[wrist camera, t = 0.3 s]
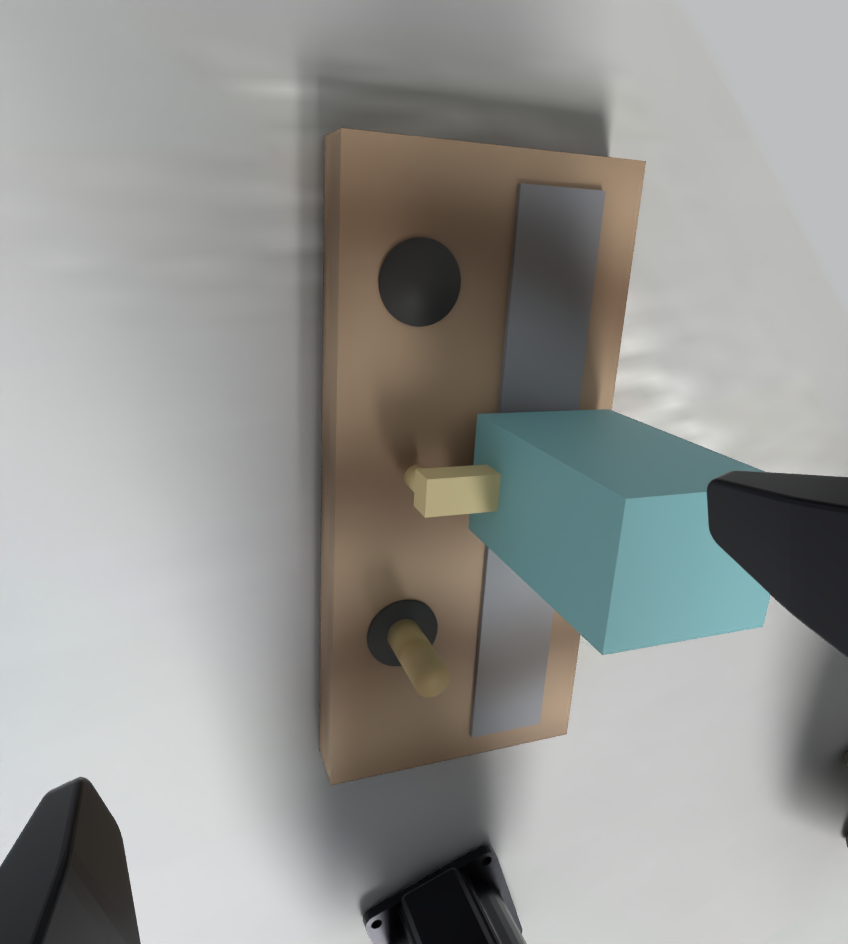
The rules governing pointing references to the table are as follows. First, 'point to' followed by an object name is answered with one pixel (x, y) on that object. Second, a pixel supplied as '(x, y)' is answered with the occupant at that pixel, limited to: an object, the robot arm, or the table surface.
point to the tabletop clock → (847, 762)
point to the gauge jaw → (601, 524)
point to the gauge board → (450, 427)
